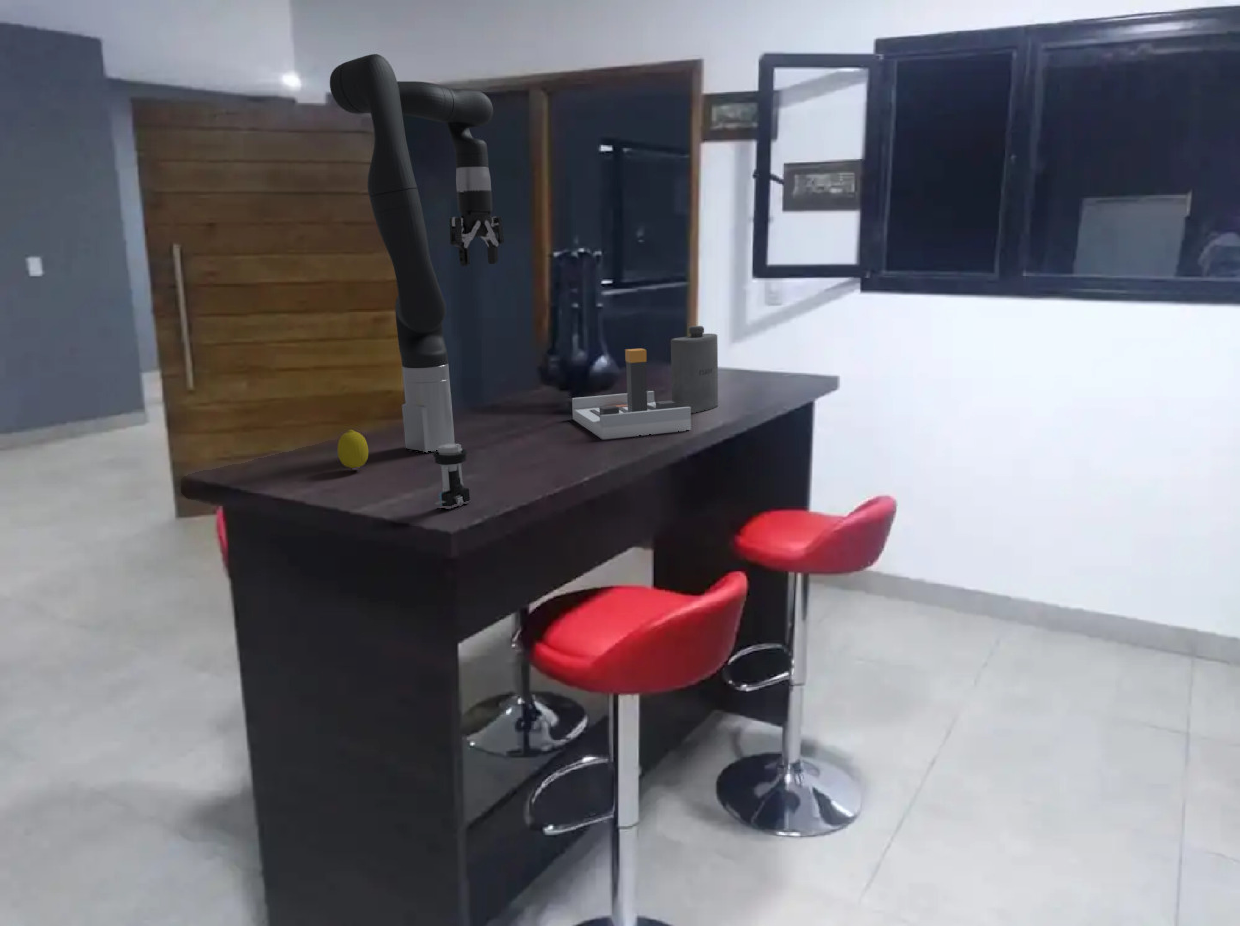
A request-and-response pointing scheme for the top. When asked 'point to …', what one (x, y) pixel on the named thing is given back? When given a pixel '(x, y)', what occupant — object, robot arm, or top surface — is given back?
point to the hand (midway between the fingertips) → (479, 264)
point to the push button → (451, 474)
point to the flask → (695, 370)
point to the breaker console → (629, 416)
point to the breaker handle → (636, 379)
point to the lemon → (352, 449)
